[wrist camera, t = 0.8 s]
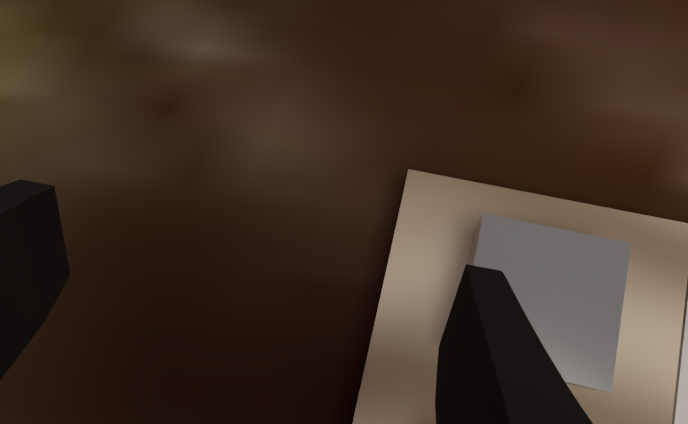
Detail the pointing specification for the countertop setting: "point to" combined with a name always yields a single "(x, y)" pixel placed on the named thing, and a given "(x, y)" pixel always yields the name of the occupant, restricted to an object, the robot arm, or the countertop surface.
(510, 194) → the birch board
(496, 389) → the robot arm
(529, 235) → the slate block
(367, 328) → the countertop surface
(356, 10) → the countertop surface
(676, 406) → the grey tray
